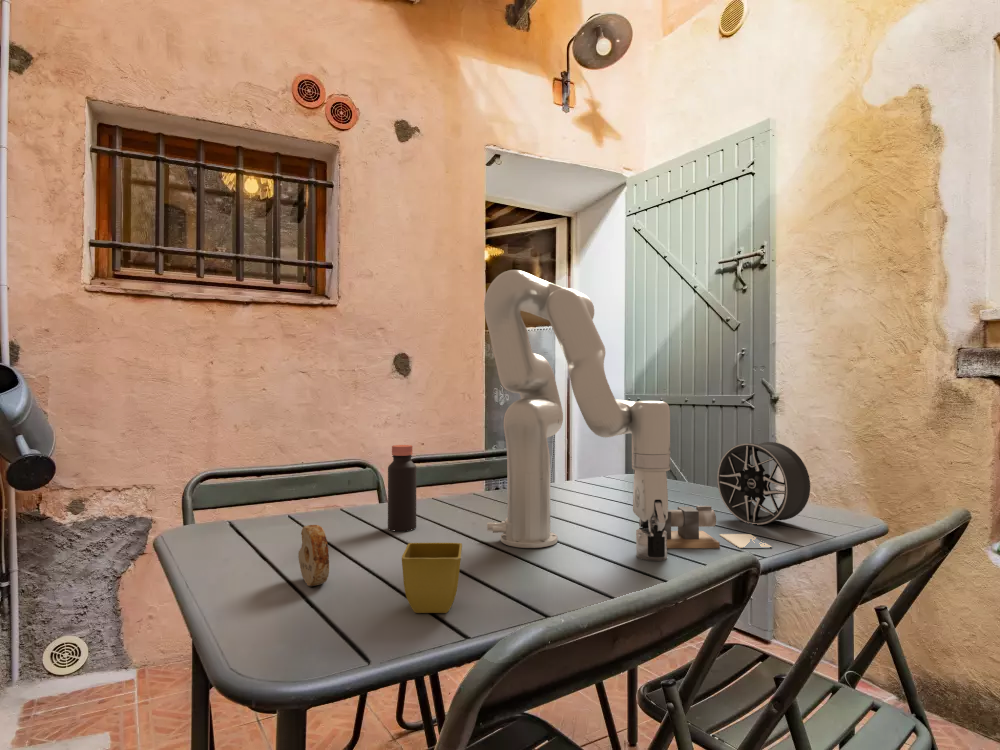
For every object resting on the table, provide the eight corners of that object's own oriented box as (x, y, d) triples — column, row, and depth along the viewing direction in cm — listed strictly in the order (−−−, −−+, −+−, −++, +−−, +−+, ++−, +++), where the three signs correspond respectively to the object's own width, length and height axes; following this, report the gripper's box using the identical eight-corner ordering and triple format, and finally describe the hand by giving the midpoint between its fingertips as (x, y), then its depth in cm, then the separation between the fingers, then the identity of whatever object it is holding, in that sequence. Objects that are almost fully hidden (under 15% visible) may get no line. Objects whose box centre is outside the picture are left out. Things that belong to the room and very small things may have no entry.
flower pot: (462, 597, 95) (462, 541, 95) (460, 618, 86) (460, 557, 87) (408, 598, 95) (408, 542, 95) (400, 619, 86) (400, 558, 86)
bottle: (411, 532, 138) (411, 447, 138) (383, 531, 139) (383, 446, 139) (419, 525, 144) (419, 444, 145) (393, 525, 145) (393, 444, 146)
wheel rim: (717, 516, 154) (716, 440, 155) (740, 512, 159) (739, 438, 159) (788, 532, 137) (786, 446, 138) (811, 527, 142) (810, 444, 142)
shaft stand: (653, 548, 124) (653, 511, 124) (641, 536, 134) (641, 502, 134) (721, 548, 124) (721, 511, 124) (705, 536, 134) (704, 501, 134)
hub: (640, 561, 115) (640, 535, 115) (633, 552, 121) (633, 528, 121) (671, 561, 115) (670, 535, 115) (662, 552, 121) (662, 528, 121)
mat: (739, 548, 124) (739, 547, 124) (719, 535, 134) (719, 534, 135) (772, 548, 124) (772, 547, 124) (750, 535, 135) (750, 534, 135)
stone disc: (333, 589, 99) (333, 530, 99) (310, 593, 97) (310, 533, 97) (318, 573, 108) (318, 518, 108) (297, 576, 106) (297, 520, 106)
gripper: (623, 457, 127) (623, 540, 127) (643, 467, 110) (643, 564, 109) (657, 456, 127) (658, 540, 127) (683, 467, 110) (684, 564, 109)
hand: (651, 550), depth 118 cm, fingers closed on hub, 6 cm apart
